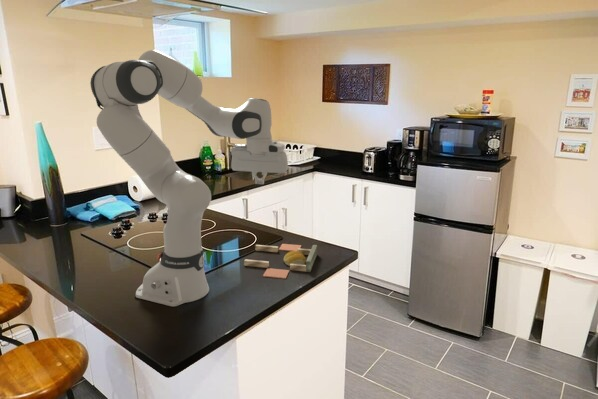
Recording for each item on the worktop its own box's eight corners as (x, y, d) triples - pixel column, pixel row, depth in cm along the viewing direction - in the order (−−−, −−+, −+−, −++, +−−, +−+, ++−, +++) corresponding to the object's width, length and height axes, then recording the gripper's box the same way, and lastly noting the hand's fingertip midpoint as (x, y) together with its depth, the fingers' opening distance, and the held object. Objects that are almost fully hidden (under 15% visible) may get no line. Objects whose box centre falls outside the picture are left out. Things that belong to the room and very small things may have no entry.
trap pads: (263, 276, 144) (263, 275, 143) (282, 244, 171) (282, 243, 171) (285, 278, 142) (285, 277, 142) (301, 246, 170) (301, 245, 170)
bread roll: (302, 256, 161) (302, 247, 159) (308, 266, 152) (308, 256, 151) (281, 258, 159) (281, 248, 158) (286, 268, 150) (286, 258, 149)
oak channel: (244, 265, 152) (244, 255, 151) (256, 249, 166) (256, 239, 165) (310, 271, 147) (310, 261, 146) (316, 254, 162) (317, 245, 161)
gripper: (227, 145, 145) (229, 184, 149) (285, 148, 141) (285, 187, 145) (233, 143, 151) (235, 180, 155) (289, 145, 147) (288, 183, 151)
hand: (259, 183), depth 150 cm, fingers closed
